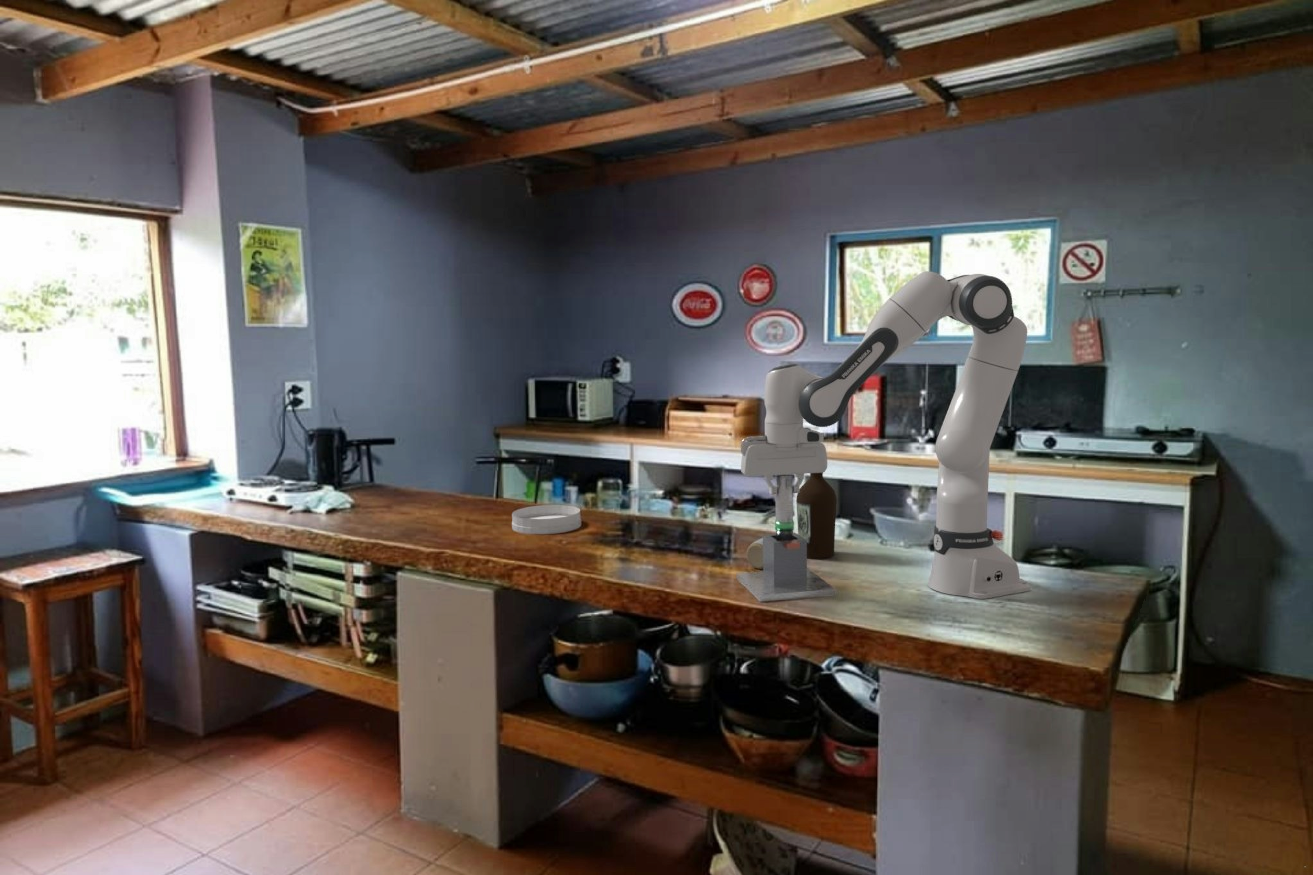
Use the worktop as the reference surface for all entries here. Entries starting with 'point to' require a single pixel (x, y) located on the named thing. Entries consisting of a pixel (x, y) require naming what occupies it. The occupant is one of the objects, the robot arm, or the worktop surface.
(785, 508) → the grey green banded cylinder
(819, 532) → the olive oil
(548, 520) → the dish
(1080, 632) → the worktop surface
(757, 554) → the ceramic mug
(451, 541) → the worktop surface
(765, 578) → the stand base
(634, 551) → the worktop surface
